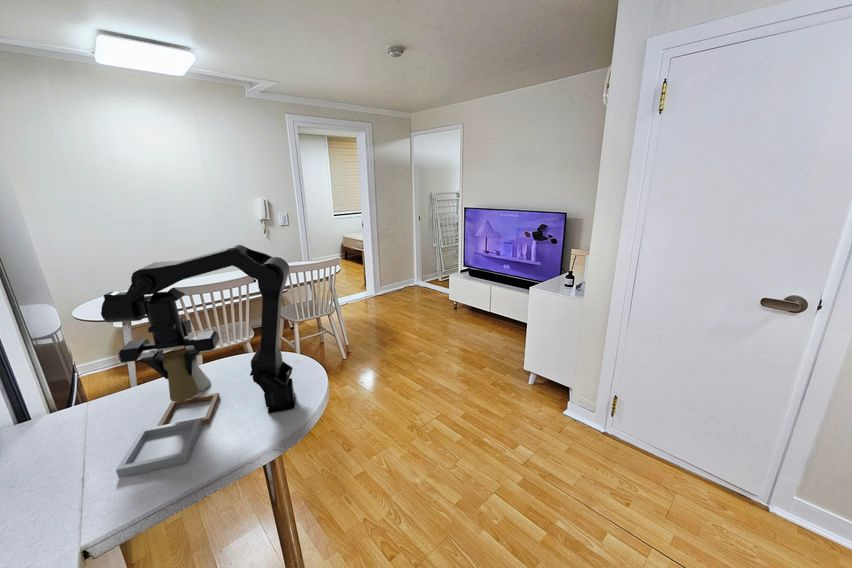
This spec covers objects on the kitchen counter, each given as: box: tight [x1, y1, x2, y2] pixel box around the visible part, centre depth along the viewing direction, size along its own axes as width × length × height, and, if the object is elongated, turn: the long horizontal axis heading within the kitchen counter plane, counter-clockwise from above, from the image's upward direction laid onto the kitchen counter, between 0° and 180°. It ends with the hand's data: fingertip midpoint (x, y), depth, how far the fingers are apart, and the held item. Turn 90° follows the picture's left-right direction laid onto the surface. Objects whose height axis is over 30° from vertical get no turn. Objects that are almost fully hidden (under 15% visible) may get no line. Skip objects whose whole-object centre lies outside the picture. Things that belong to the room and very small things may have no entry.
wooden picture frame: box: [157, 392, 221, 426], centre depth 88 cm, size 11×11×2 cm
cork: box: [162, 351, 200, 402], centre depth 84 cm, size 6×6×11 cm
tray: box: [115, 417, 204, 479], centre depth 77 cm, size 12×12×2 cm
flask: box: [192, 359, 212, 392], centre depth 97 cm, size 7×7×10 cm
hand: (180, 376), depth 84 cm, fingers closed on cork, 5 cm apart
